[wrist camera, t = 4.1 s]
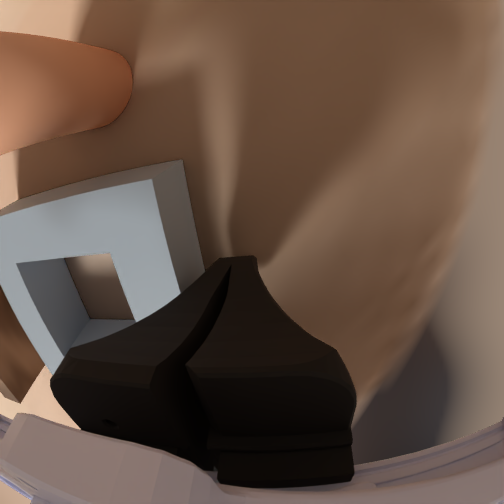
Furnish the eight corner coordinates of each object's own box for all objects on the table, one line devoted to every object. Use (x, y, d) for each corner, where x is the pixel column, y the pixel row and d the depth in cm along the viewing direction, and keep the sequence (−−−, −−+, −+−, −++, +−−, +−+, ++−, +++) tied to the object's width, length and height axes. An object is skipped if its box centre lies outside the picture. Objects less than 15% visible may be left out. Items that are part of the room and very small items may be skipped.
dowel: (138, 116, 10) (-15, 151, 3) (71, 137, 10) (-71, 191, 4) (127, 38, 8) (-19, 0, 2) (61, 66, 8) (-82, 75, 2)
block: (224, 349, 14) (215, 398, 12) (78, 344, 15) (56, 379, 12) (182, 159, 10) (151, 178, 8) (17, 200, 11) (-24, 224, 8)
